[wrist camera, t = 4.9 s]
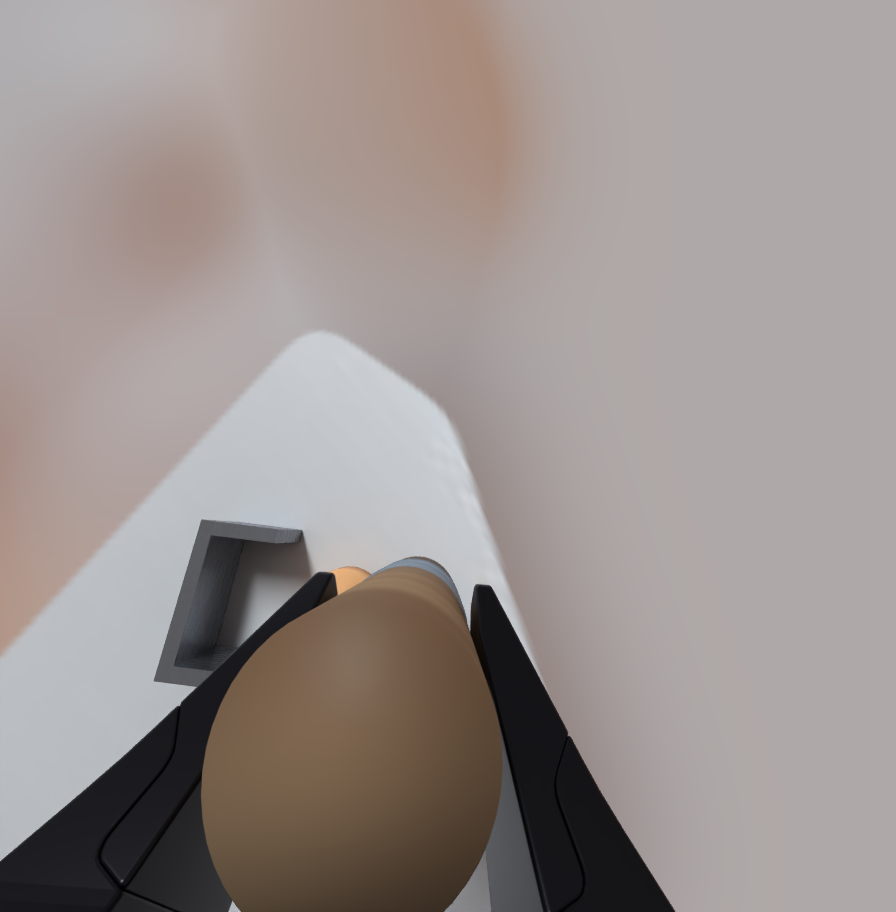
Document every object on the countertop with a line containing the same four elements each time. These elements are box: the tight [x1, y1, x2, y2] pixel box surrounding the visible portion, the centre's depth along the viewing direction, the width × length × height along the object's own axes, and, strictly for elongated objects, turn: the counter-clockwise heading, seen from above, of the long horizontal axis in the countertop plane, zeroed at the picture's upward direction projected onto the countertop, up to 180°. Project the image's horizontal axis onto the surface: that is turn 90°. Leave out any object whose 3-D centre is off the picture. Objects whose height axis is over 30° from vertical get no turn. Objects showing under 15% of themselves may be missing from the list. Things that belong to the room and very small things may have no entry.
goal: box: [154, 520, 302, 687], centre depth 17 cm, size 7×4×3 cm, turn 173°
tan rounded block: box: [330, 567, 371, 595], centre depth 18 cm, size 4×4×2 cm
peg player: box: [201, 557, 503, 912], centre depth 9 cm, size 4×4×11 cm
